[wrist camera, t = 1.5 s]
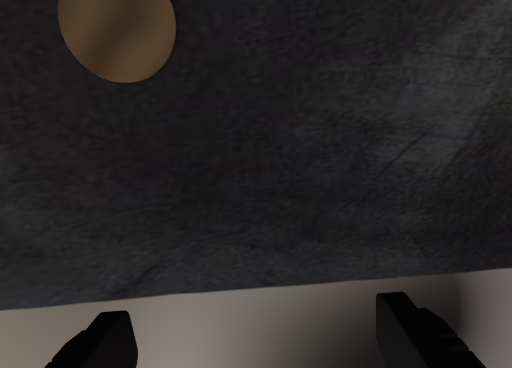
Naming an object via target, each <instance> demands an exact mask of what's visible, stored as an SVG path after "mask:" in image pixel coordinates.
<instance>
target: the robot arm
mask: <svg viewBox="0 0 512 368" xmlns="http://www.w3.org/2000/svg"><path fill="white" fill-rule="evenodd" d="M376 339H377V344H378V349H379V352H380V355H381V357H382V360H383V362H384V364H385V366H386V368H486V367H485V366H484V365H483V364H482V363H481V361H480V360H479V359H478V358H477V357H476V356H475V355H474V353H473V352H472V351H469V349H468V347H467V346H466V344H465V343H464V342H463V341H462V340H461V339H460V338H458V337H457V334H456V333H455V332H454V331H453V330H452V329H451V327H450V326H449V325H448V324H447V323H446V322H445V321H444V320H443V319H442V318H440V317H439V316H437V315H436V314H434V313H433V312H431V311H429V310H428V309H427V308H420V309H418V308H417V307H416V306H415V305H414V303H413V302H412V301H411V300H410V298H409V297H408V296H407V295H406V294H405V293H404V292H391V293H379V294H377V296H376ZM137 359H138V349H137V344H136V340H135V336H134V332H133V327H132V323H131V319H130V315H129V313H128V312H127V311H111V312H102V313H100V314H99V315H98V316H97V317H96V318H95V319H94V321H93V322H92V323H91V324H90V325H89V327H88V328H87V329H86V330H83V331H81V332H80V333H79V334H77V335H76V336H75V337H73V338H72V339H71V340H69V341H68V342H67V343H66V344H65V345H64V346H63V347H62V348H61V349H60V351H59V352H58V353H57V354H56V355H55V356H54V357H53V359H52V362H49V363H48V364H47V365H46V366H45V368H136V365H137Z"/></svg>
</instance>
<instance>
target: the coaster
mask: <svg viewBox="0 0 512 368" xmlns="http://www.w3.org/2000/svg"><path fill="white" fill-rule="evenodd" d="M58 20H59V25H60V29H61V33H62V35H63V38H64V40H65V42H66V44H67V46H68V48H69V49H70V51H71V52H72V54H73V55H74V56H75V57H76V58H77V60H78V61H79V62H80V63H81V64H82V65H83V66H84V67H86V68H87V69H88V70H90V71H91V72H93V73H94V74H96V75H98V76H100V77H102V78H104V79H107V80H110V81H115V82H121V83H131V82H138V81H142V80H144V79H147V78H149V77H151V76H152V75H154V74H155V73H157V72H158V71H159V70H160V69H161V68H162V67H163V66H164V65H165V64H166V62H167V61H168V59H169V57H170V55H171V53H172V51H173V48H174V45H175V40H176V30H177V28H176V17H175V12H174V9H173V5H172V3H171V0H58Z"/></svg>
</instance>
